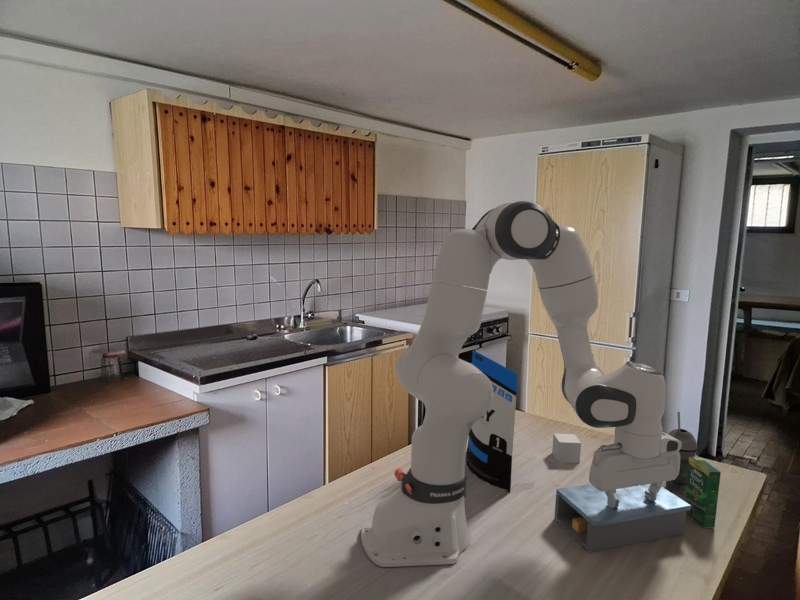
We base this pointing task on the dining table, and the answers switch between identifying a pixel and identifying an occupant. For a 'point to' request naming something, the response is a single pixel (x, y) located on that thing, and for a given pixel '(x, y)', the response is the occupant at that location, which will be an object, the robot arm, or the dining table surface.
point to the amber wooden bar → (580, 524)
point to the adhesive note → (566, 448)
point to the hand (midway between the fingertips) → (631, 502)
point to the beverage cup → (682, 458)
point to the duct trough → (619, 528)
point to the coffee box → (702, 491)
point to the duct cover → (620, 503)
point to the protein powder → (494, 427)
